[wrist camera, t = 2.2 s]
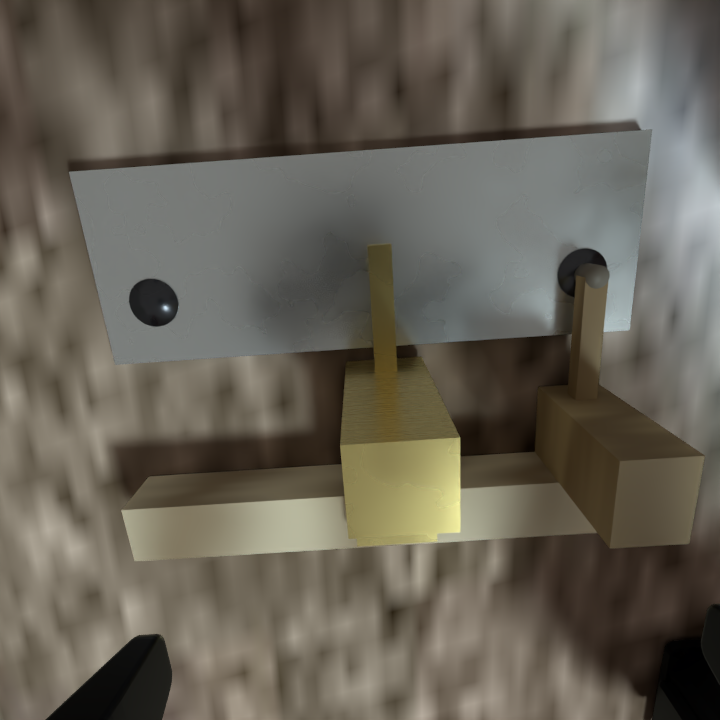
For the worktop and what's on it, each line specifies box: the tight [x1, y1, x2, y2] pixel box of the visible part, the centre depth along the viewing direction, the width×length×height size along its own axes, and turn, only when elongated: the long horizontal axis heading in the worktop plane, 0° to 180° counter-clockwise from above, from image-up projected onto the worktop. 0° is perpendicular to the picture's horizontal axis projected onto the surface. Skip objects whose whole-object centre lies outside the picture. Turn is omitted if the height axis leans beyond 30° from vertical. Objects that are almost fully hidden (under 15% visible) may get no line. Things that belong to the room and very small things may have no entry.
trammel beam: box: [121, 263, 705, 561], centre depth 16 cm, size 20×10×6 cm, turn 94°
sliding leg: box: [340, 243, 460, 547], centre depth 15 cm, size 3×11×7 cm, turn 4°
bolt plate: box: [69, 129, 652, 365], centre depth 17 cm, size 20×7×1 cm, turn 94°
